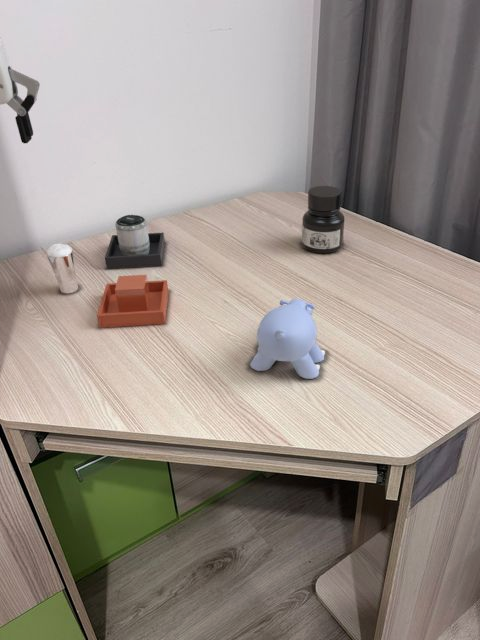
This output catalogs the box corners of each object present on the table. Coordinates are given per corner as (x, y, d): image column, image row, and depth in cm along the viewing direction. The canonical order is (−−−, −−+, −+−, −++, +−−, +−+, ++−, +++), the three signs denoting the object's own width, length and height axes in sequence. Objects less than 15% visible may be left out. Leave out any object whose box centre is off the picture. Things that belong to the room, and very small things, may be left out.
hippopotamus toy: (332, 334, 90) (335, 283, 84) (314, 390, 78) (316, 336, 73) (269, 325, 92) (269, 275, 87) (243, 378, 81) (240, 325, 75)
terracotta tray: (99, 327, 93) (96, 315, 91) (109, 295, 102) (106, 283, 100) (165, 323, 93) (163, 311, 92) (168, 291, 102) (167, 280, 101)
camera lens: (139, 262, 111) (133, 226, 107) (115, 256, 114) (108, 221, 109) (156, 250, 116) (151, 215, 111) (132, 245, 118) (126, 210, 113)
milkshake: (48, 291, 103) (34, 243, 97) (73, 281, 106) (61, 234, 100) (61, 299, 100) (47, 250, 95) (86, 289, 104) (74, 241, 98)
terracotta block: (119, 314, 95) (114, 289, 92) (123, 300, 99) (118, 276, 96) (148, 312, 95) (144, 288, 92) (150, 298, 99) (146, 274, 96)
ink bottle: (294, 250, 116) (295, 195, 109) (307, 234, 122) (309, 181, 115) (338, 257, 113) (341, 201, 105) (349, 240, 119) (353, 187, 112)
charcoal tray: (106, 269, 110) (104, 258, 109) (114, 245, 119) (112, 235, 118) (161, 266, 111) (160, 255, 109) (165, 242, 120) (163, 232, 118)
